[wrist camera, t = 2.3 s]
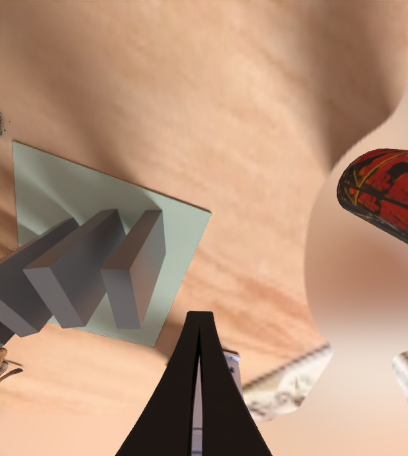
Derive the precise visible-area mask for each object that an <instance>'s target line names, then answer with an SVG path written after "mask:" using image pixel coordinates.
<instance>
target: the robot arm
mask: <svg viewBox="0 0 408 456" xmlns="http://www.w3.org/2000/svg"><path fill="white" fill-rule="evenodd" d="M239 360H240V356H239V355H237V354H233V353H229V352H225V351H223V350H222V347H221V344H220V341H219V337H218V334H217V330H216V326H215V322H214V316H213V313H212V312H210V311H189V312H187V316H186V320H185V323H184V327H183V330H182V332H181V335H180V338H179V340H178V343H177V345H176V348H175V350H174V352H173V355H172V357H171V359H170V361H169V363H168V365H167V368H166V370H165V372H164V374H163V376H162V378H161V380H160V382H159V384H158V385H157V387H156V389H155V391H154V393H153V395H152V396H151V398H150V400H149V402H148V403H147V405H146V407H145V409H144V411H143V412H142V414H141V416H140V417H139V419H138V420H137V422H136V424H135V425H134V427H133V429H132V430H131V432H130V433H129V435H128V436H127V438H126V440H125V441H124V443H123V444H122V446H121V447H120V449H119V450H118V452H117V454H116V455H115V456H272V454H271V452H270V450H269V449H268V447H267V445H266V443H265V441H264V439H263V438H262V436H261V434H260V432H259V430H258V428H257V426H256V424H255V422H254V420H253V419H252V417H251V415H250V413H249V411H248V409H247V407H246V404H245V402H244V399H243V391H242V384H241V377H240V370H239V363H238V361H239Z"/></svg>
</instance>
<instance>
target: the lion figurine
mask: <svg viewBox="0 0 408 456" xmlns="http://www.w3.org/2000/svg"><path fill="white" fill-rule="evenodd" d="M6 354H7V351H6V350H5V349H3V348H1V349H0V376H1V375H2V374H3V373H4V372H5V371H6V370H7V368H8V364H7V363H5V362H3V359H4V357H5V356H6ZM22 371H23V370H22V369H20V368H18V369H15V370H12V371H10V372H9V373H7V374H6V375H4V376H2V377H1V378H0V382H1V381H2V380H4V379H5V378H7V377H8V376H10V375H12V374H17V373H20V372H22Z"/></svg>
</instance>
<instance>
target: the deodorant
mask: <svg viewBox="0 0 408 456" xmlns="http://www.w3.org/2000/svg"><path fill="white" fill-rule="evenodd" d="M337 198H338V201H339V203H340V205H341V206H342V207H343V208H344V209H346V210H347V211H349V212H351V213H353V214H354V215H356V216H358V217H360V218H362V219H363V220H365V221H367V222H369V223H371V224H373V225H374V226H376V227H378V228H380V229H382V230H383V231H385V232H387V233H389V234H390V235H392V236H394V237H396V238H398V239H400V240H401V241H403V242H405V243H407V244H408V150H398V149H376V150H373V151H369V152H367V153H365V154H363V155H361V156H359V157H358V158H357V159H356V160H354V161H353V162H352V163H351V164H350V165H349V166H348V167H347V169H346V170H345V171H344V172H343V174H342V176H341V178H340V180H339V183H338V186H337Z"/></svg>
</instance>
